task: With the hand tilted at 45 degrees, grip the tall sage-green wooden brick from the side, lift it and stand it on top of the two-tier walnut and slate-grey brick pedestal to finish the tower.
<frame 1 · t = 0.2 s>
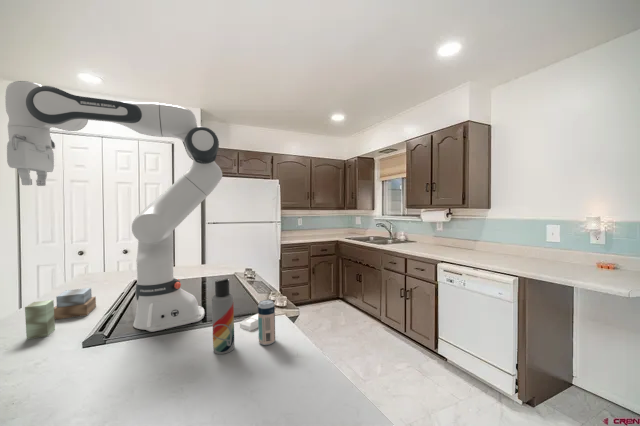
hand: (34, 185, 86), 47 cm above the countertop, tool pointing down, fingers open, 8 cm apart
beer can: (267, 342, 84), on the countertop
soap bar: (255, 325, 97), on the countertop
pedestal: (75, 312, 109), on the countertop
lotion bottle: (224, 349, 81), on the countertop
green brick: (41, 334, 91), on the countertop
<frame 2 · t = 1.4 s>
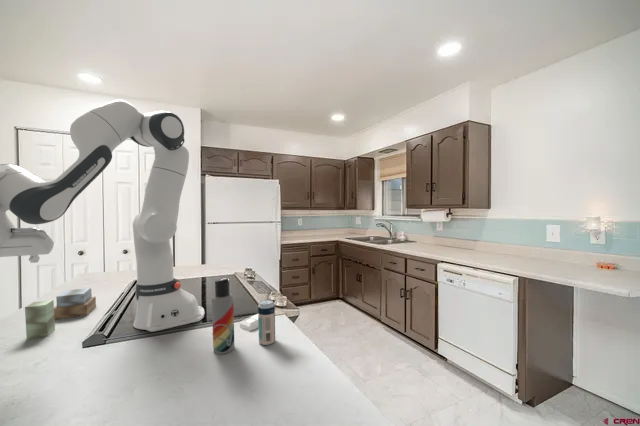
hand: (13, 262, 79), 26 cm above the countertop, tool tilted 45°, fingers open, 8 cm apart
nothing on the countertop moved.
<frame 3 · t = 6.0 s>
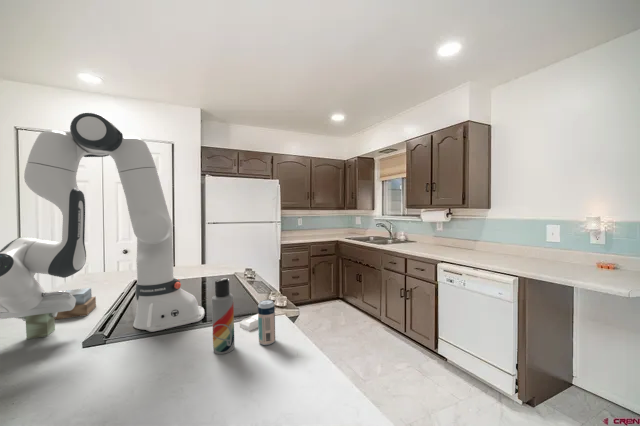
hand: (41, 316, 92), 5 cm above the countertop, tool tilted 45°, fingers closed on green brick, 5 cm apart
green brick: (41, 334, 91), on the countertop, touching gripper
everything else where it was.
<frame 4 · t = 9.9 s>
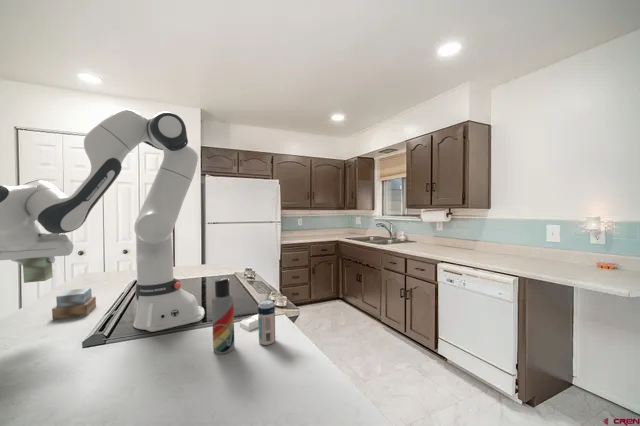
hand: (38, 262, 91), 23 cm above the countertop, tool tilted 45°, fingers closed on green brick, 5 cm apart
green brick: (38, 279, 91), point 18 cm above the countertop, touching gripper
everything else where it was.
when the fingers open (15 cm above the countertop, at t = 14.0 s): green brick drops 1 cm, resting on pedestal.
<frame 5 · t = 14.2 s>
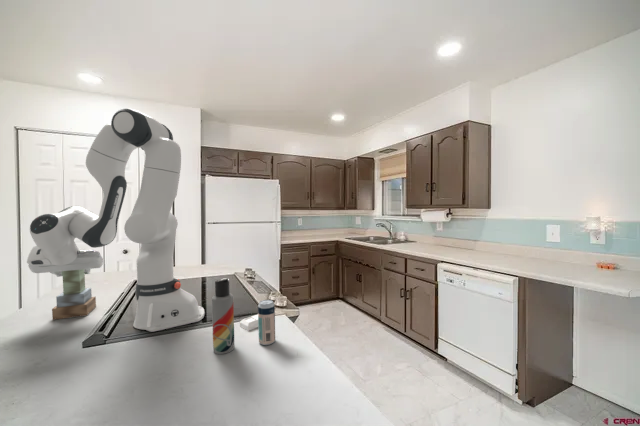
hand: (74, 273, 109), 15 cm above the countertop, tool tilted 45°, fingers open, 7 cm apart
green brick: (74, 291, 109), point 8 cm above the countertop, touching pedestal
everything else where it was.
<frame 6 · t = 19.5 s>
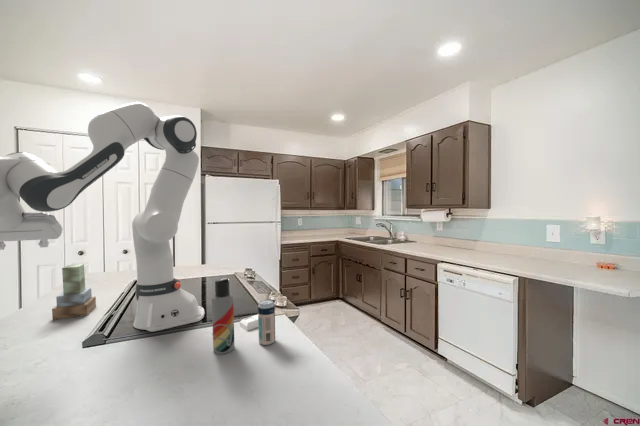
hand: (23, 246, 82), 29 cm above the countertop, tool tilted 45°, fingers open, 8 cm apart
nothing on the countertop moved.
at the end: green brick 0.0 cm off-centre on the pedestal, point 8.0 cm above the pedestal's base; green brick tilted 0°; the gripper is holding nothing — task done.
